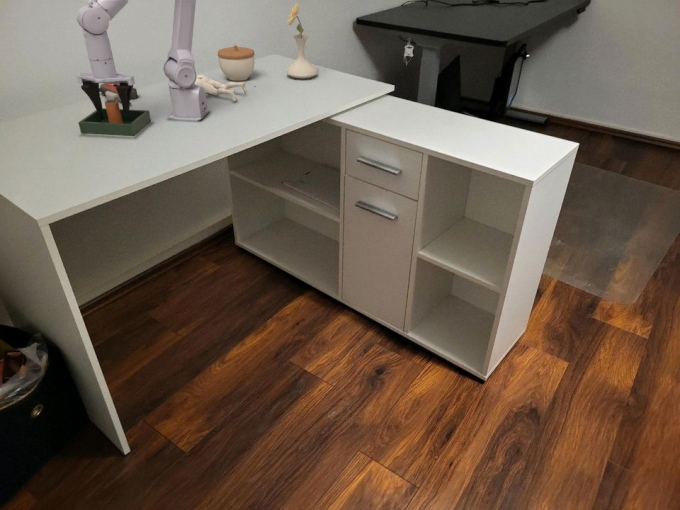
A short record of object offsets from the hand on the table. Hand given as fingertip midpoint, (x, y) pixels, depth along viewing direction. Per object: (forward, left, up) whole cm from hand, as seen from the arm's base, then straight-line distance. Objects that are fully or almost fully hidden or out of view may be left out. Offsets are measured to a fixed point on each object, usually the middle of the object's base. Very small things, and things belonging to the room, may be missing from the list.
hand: (113, 110), depth 141 cm
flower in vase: (-42, -58, -5) cm, 72 cm away
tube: (0, 0, -5) cm, 5 cm away
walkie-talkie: (+10, -25, -5) cm, 27 cm away
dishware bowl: (-20, -53, -5) cm, 57 cm away
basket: (0, 0, -5) cm, 5 cm away
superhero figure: (-15, -34, -5) cm, 38 cm away
